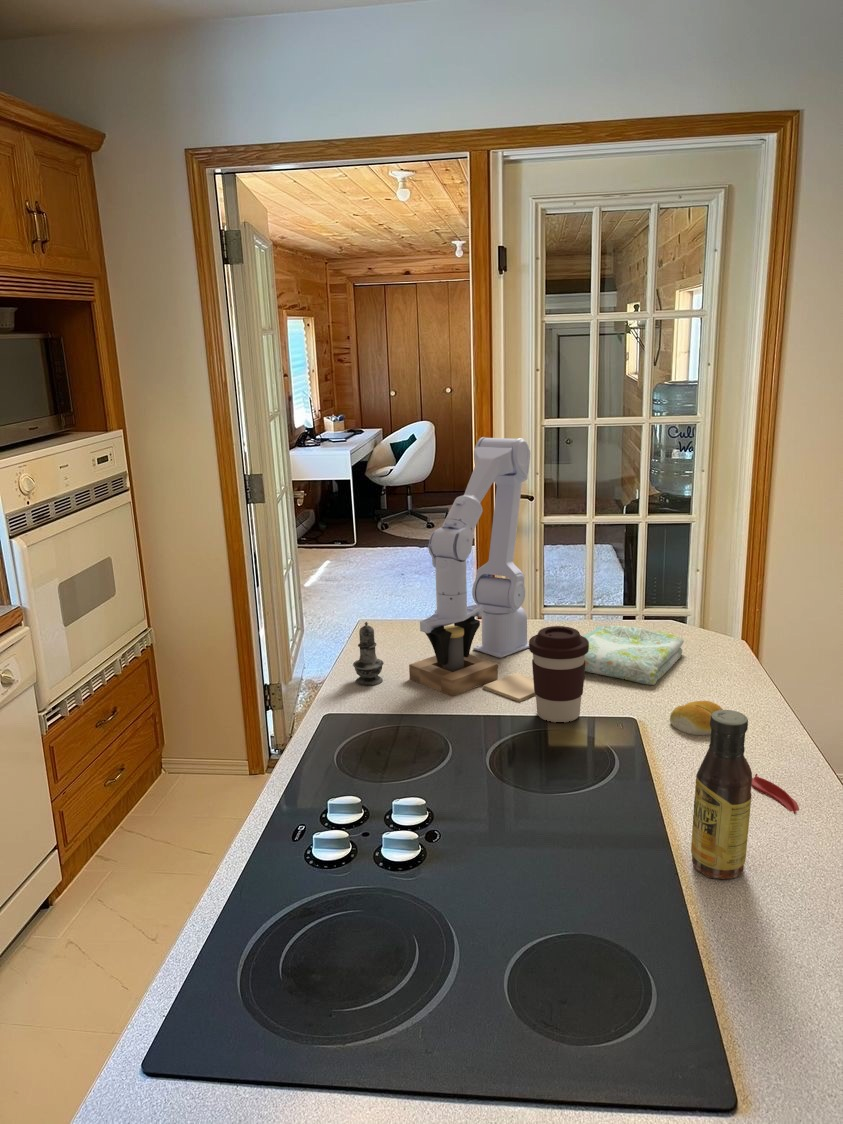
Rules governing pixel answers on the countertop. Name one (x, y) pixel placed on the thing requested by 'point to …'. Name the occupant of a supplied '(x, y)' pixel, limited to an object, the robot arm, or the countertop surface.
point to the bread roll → (694, 717)
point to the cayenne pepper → (774, 793)
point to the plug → (455, 649)
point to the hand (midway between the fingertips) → (453, 659)
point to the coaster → (513, 687)
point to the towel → (631, 653)
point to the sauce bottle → (722, 799)
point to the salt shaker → (368, 659)
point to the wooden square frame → (453, 674)
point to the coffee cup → (558, 672)
